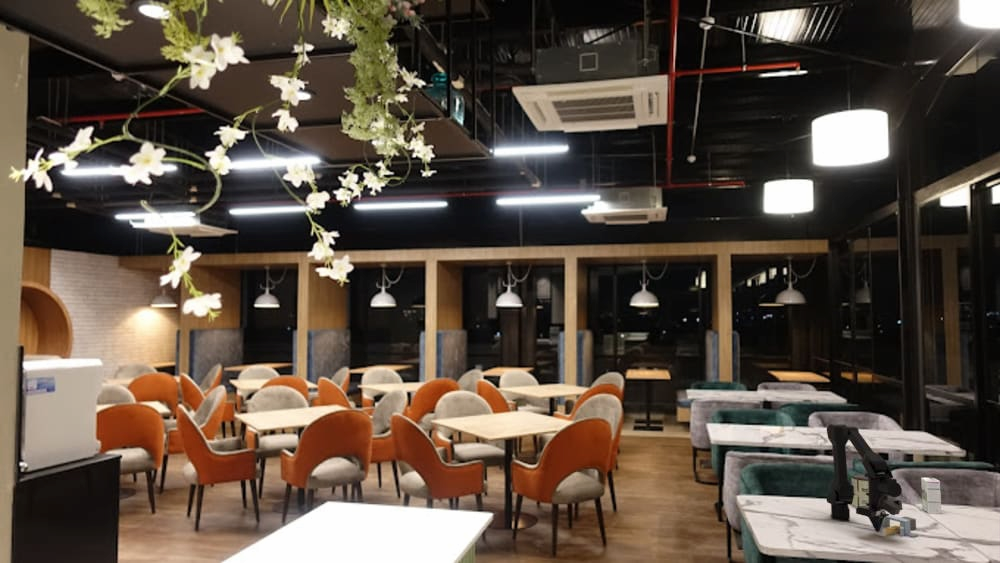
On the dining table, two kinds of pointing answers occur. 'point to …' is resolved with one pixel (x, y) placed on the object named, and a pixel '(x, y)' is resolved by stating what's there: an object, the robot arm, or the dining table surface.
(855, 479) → the coffee can
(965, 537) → the dining table surface
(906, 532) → the blue-grey bracket
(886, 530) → the yellow handled hammer
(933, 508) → the syrup box
